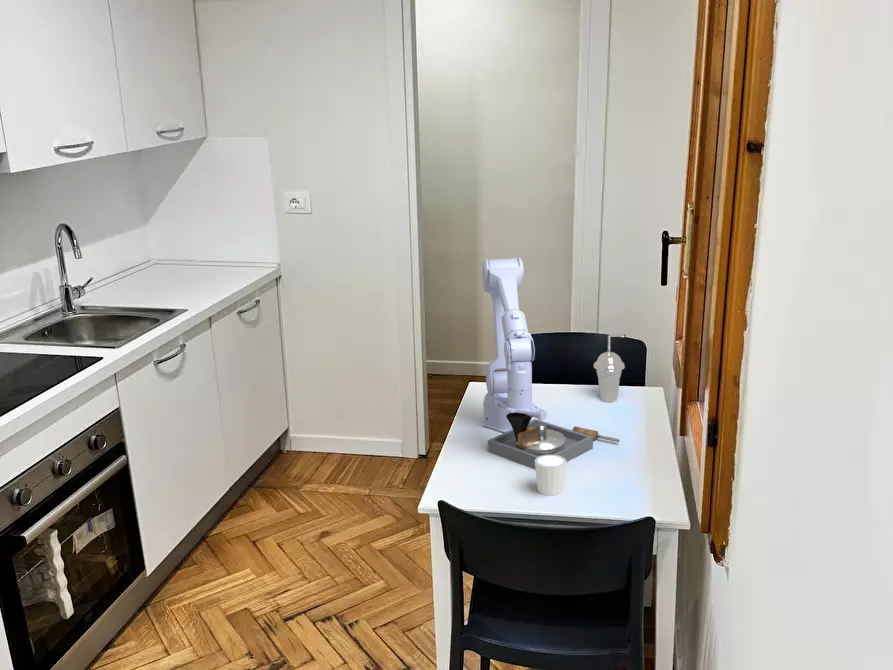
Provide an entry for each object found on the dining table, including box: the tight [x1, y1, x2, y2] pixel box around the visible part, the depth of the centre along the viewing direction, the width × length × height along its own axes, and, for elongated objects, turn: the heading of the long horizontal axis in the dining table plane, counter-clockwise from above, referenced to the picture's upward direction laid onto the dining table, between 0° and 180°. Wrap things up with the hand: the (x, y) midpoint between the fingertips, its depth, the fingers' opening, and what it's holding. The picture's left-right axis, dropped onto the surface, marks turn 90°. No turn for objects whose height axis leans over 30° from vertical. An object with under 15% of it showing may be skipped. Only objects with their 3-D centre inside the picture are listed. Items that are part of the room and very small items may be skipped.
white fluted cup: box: [535, 455, 567, 497], centre depth 180 cm, size 7×7×7 cm
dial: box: [515, 422, 565, 455], centre depth 200 cm, size 14×12×5 cm
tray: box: [487, 418, 594, 470], centre depth 201 cm, size 18×18×3 cm
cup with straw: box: [593, 333, 626, 403], centre depth 230 cm, size 8×9×20 cm
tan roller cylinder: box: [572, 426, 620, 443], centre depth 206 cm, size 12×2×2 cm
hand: (520, 441), depth 198 cm, fingers closed, pressing on dial
